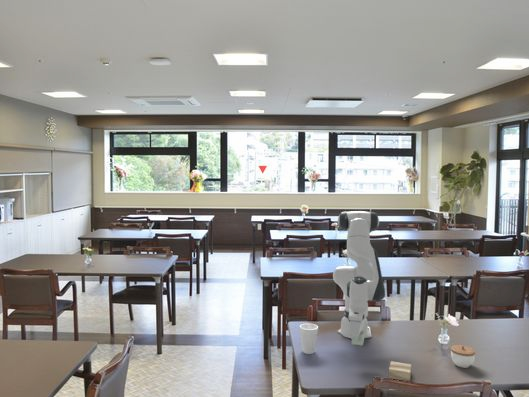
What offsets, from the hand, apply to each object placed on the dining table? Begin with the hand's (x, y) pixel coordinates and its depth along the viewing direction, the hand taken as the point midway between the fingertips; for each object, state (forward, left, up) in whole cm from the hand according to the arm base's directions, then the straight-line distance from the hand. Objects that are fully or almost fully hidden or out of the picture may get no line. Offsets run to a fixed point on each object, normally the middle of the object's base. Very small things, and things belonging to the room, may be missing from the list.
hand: (357, 339), depth 209 cm
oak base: (+5, +20, -12) cm, 24 cm away
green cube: (0, 0, -2) cm, 2 cm away
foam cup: (-5, -26, -12) cm, 29 cm away
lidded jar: (-18, +47, -12) cm, 52 cm away
